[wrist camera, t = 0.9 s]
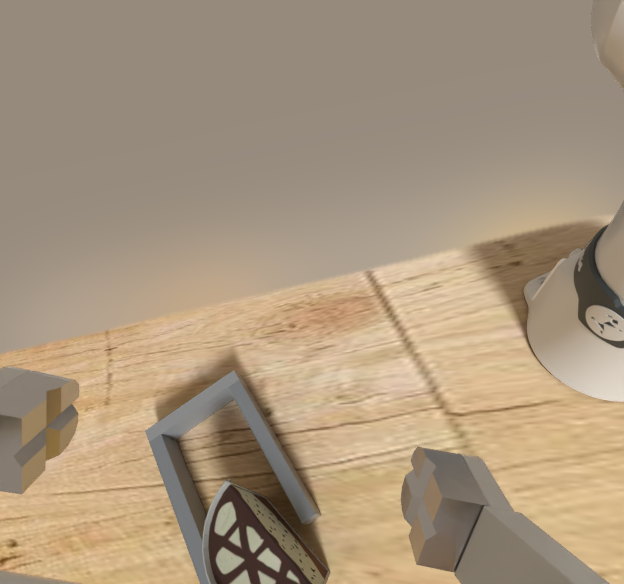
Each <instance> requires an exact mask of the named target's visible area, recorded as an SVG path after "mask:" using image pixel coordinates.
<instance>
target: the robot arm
mask: <svg viewBox="0 0 624 584" xmlns="http://www.w3.org/2000/svg"><path fill="white" fill-rule="evenodd" d="M591 31H592V38H593V44H594V47H595V50H596V54H597V56H598V58H599V60H600V63H601V64H602V65H603V66H604V67H605V68H606V69H607V70H608V71H609V73H610V74H611V75H612V76H613V78H614V79H615V80H616V81H617V82H618V84H619V85H620V86H621V88H622V90H623V92H624V0H593V3H592V10H591ZM541 284H542V285H541ZM524 296H525V299H526V302H527V304H528V307H529V312H528V319H527V335H528V339H529V342H530V345H531V347H532V350H533V352H534V353H535V355H536V357H537V358H538V360H539V361H540V362H541V363H542V365H543V366H544V367H545V368H546V369H547V370H548V371H549V372H550V373H551V374H552V375H553V376H555V377H556V378H557V379H558V380H560V381H561V382H563V383H564V384H566V385H567V386H569V387H571V388H573V389H575V390H577V391H579V392H581V393H583V394H586V395H589V396H592V397H595V398H599V399H603V400H609V401H619V402H624V201H623V203H622V205H621V207H620V208H619V210H618V212H617V213H616V215H615V216H614V218H613V220H612V221H611V223H610V224H609V225H607V226H605V227H604V228H602V229H601V230H600V231H599V232H598V233H597V234H596V235H595V236H594V237H593V239H592V240H590V241H589V242H588V244H587V245H586V246H585V248H584V250H582V249H580V248H577V249H575V250H573V251H572V252H571V253H570V254H569V258H562V259H561V260H560V261H559V262H558V263H557V264H556V266H555V267H554V268H553V270H552V271H549V272H547V273H545V274H543V275H541V276H539V277H537V278H535V279H533V280H531V281H529V282H528V283H527V284H526V285H525V287H524ZM78 397H79V384H78V383H77V381H76V380H73V379H68V378H64V377H59V376H55V375H50V374H45V373H41V372H36V371H30V370H26V369H21V368H16V367H3V368H1V369H0V491H3V492H10V493H17V494H23V493H24V492H25V491H26V489H27V488H28V487H29V486H30V485H31V484H32V483H33V482H34V481H35V480H36V479H37V478H38V477H39V476H40V475H41V474H42V473H43V472H44V471H45V461H47V460H49V459H51V458H54V457H56V456H58V455H60V454H61V453H62V452H63V451H64V449H65V448H66V447H67V446H68V445H69V443H70V441H71V439H72V437H73V436H74V434H75V431H76V427H77V423H78V412H77V411H76V409H75V408H74V406H73V405H72V403H73V402H74V401H75V400H76V399H77V398H78ZM411 462H412V465H413V468H414V470H412V471H411V472H410V473H408V474H407V475H406V476H405V479H404V482H403V486H402V493H401V505H402V511H403V515H404V519H405V520H406V521H407V522H408V523H409V524H410V525H411V527H412V529H411V531H410V534H409V539H410V542H411V546H412V550H413V553H414V557H415V561H416V564H417V565H421V566H426V567H431V568H435V569H440V570H445V571H450V572H454V573H455V574H454V575H455V576H456V577H457V579H458V580H459V581H460V583H461V584H609V583H608V582H607V581H606V580H604V579H603V578H602V577H601V576H599V575H598V574H597V573H596V572H594V571H593V570H592V569H591V568H589V567H588V566H587V565H586V564H584V563H583V562H582V561H581V560H579V559H578V558H577V557H576V556H574V555H573V554H572V553H571V552H569V551H568V550H567V549H566V548H564V547H563V546H562V545H561V544H559V543H558V542H557V541H556V540H554V539H553V538H552V537H551V536H549V535H548V534H547V533H546V532H544V531H543V530H542V529H540V528H539V527H538V526H537V525H535V524H534V523H533V522H532V521H530V520H529V519H528V518H527V517H525V516H524V515H523V514H522V513H519V512H514V510H513V509H512V507H511V506H510V504H509V502H508V501H507V499H506V497H505V496H504V494H503V492H502V491H501V489H500V487H499V486H498V484H497V483H496V481H495V479H494V478H493V476H492V474H491V473H490V471H489V469H488V468H487V466H486V464H485V463H484V461H483V460H482V459H481V458H479V457H477V456H471V455H465V454H459V453H458V454H455V453H450V452H444V451H439V450H433V449H428V448H422V447H417V448H416V450H415V451H414V453H413V456H412V459H411ZM0 584H81V583H75V582H69V581H63V580H57V579H52V578H46V577H40V576H34V575H28V574H22V573H16V572H10V571H4V570H0Z"/></svg>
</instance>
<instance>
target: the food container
mask: <svg viewBox="0 0 624 584" xmlns="http://www.w3.org/2000/svg"><path fill="white" fill-rule="evenodd" d="M231 480H232V479H227V480H226V481H225V482H224V484H223V485H222V486H221V487H220V489H219V491H218V492H217V494H216V496H215V497H214V499H213V501H212V503H211V506H210V508H209V510H208V514H207V517H206V520H205V525H204V531H203V541H202V552H203V563H204V567H205V572H206V576H207V579H208V582H209V584H326V582H327V579H328V577H329V574H330V571H329V570H328V569H327V567H326V566H325V565H324V564H323V563H322V562H321V560H320V559H319V558H318V557H317V556H316V555H315V553H314V552H313V551H312V550H311V549H310V547H309V546H308V545H307V544H306V543H305V542H304V540H303V539H302V538H301V537H300V536H299V535H298V533H297V532H296V531H295V530H294V529H293V527H292V526H291V525H290V524H289V523H288V522H287V520H286V519H285V518H284V517H283V516H282V515H281V513H280V512H279V511H278V510H277V509H276V507H275V506H274V505H273V504H272V503H271V502H270V500H269V499H268V498H267V497H266V496H263V495H261V494H258V493H256V492H253V491H251V490H249V489H246V488H244V487H241V486H239V485H236V484H234V483H232V482H231Z"/></svg>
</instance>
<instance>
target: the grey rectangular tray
mask: <svg viewBox="0 0 624 584" xmlns="http://www.w3.org/2000/svg"><path fill="white" fill-rule="evenodd" d="M234 399H235V401H236V402H237V404H238V406H239V408H240V410H241V412H242V413H243V415H244V417H245V419H246V421H247V423H248V425H249V426H250V428H251V430H252V432H253V434H254V436H255V438H256V439H257V441H258V443H259V445H260V447H261V449H262V450H263V452H264V454H265V456H266V458H267V460H268V462H269V463H270V465H271V467H272V469H273V471H274V473H275V474H276V476H277V478H278V480H279V482H280V484H281V486H282V487H283V489H284V491H285V493H286V495H287V497H288V499H289V500H290V502H291V504H292V506H293V508H294V510H295V511H296V513H297V515H298V517H299V519H300V521H301V523H302V524H311V523H312V522H313V521H314V520H316V519H317V518H318V517H319V516H321V513H320V511H319V510H318V508H317V506H316V504H315V503H314V501H313V499H312V498H311V496H310V494H309V492H308V491H307V489H306V487H305V485H304V484H303V482H302V480H301V478H300V477H299V475H298V473H297V471H296V470H295V468H294V466H293V465H292V463H291V461H290V459H289V458H288V456H287V454H286V452H285V451H284V449H283V447H282V445H281V444H280V442H279V440H278V439H277V437H276V435H275V433H274V432H273V430H272V428H271V426H270V425H269V423H268V421H267V419H266V418H265V416H264V414H263V413H262V411H261V409H260V407H259V406H258V404H257V402H256V400H255V399H254V397H253V395H252V393H251V392H250V390H249V388H248V386H247V385H246V383H245V381H244V380H243V379H242V378H241V377H240V376H239V375H238V374H237V373H236V372H235V371H234V370H233V371H232V372H230V373H229V374H227V375H226V376H224V377H223V378H221V379H220V380H218V381H217V382H216V383H214V384H213V385H211V386H210V387H208V388H207V389H205V390H204V391H202V392H201V393H200V394H198V395H197V396H195V397H194V398H192V399H191V400H189V401H188V402H187V403H185V404H184V405H182V406H181V407H179V408H178V409H176V410H175V411H173V412H172V413H171V414H169V415H168V416H166V417H165V418H163V419H162V420H160V421H159V422H157V423H156V424H155V425H153V426H152V427H150V428H149V429H147V430H146V431H145V432H146V434H147V437H148V440H149V443H150V446H151V448H152V451H153V454H154V457H155V459H156V462H157V465H158V468H159V470H160V473H161V476H162V479H163V482H164V484H165V487H166V490H167V493H168V495H169V498H170V501H171V504H172V506H173V509H174V512H175V515H176V518H177V520H178V523H179V526H180V529H181V531H182V534H183V537H184V540H185V542H186V545H187V548H188V551H189V554H190V556H191V559H192V562H193V565H194V567H195V570H196V573H197V576H198V578H199V581H200V584H209V582H208V579H207V576H206V572H205V567H204V563H203V552H202V541H203V531H204V525H205V520H206V517H207V515H206V512H205V510H204V507H203V505H202V503H201V500H200V498H199V495H198V493H197V490H196V488H195V485H194V483H193V480H192V478H191V476H190V473H189V471H188V468H187V466H186V463H185V461H184V458H183V456H182V453H181V451H180V448H179V446H178V444H177V441H176V440H177V439H178V438H180V437H181V436H182V435H184V434H185V433H187V432H188V431H189V430H191V429H192V428H194V427H195V426H197V425H198V424H199V423H201V422H202V421H204V420H205V419H207V418H208V417H209V416H211V415H212V414H214V413H215V412H216V411H218V410H219V409H221V408H222V407H224V406H225V405H226V404H228V403H229V402H231V401H232V400H234Z"/></svg>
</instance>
